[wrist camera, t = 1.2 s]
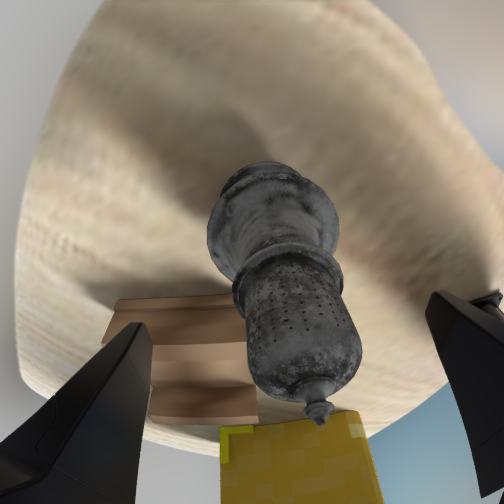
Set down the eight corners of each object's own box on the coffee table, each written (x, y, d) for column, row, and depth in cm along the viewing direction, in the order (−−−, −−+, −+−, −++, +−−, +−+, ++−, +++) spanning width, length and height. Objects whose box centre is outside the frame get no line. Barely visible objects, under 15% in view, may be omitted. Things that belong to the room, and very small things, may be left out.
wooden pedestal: (246, 292, 18) (249, 338, 14) (255, 386, 23) (258, 424, 20) (118, 299, 18) (99, 340, 14) (160, 388, 23) (154, 424, 20)
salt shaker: (222, 146, 13) (174, 304, 3) (331, 170, 14) (494, 324, 4) (205, 248, 16) (176, 460, 6) (302, 262, 17) (367, 454, 7)
